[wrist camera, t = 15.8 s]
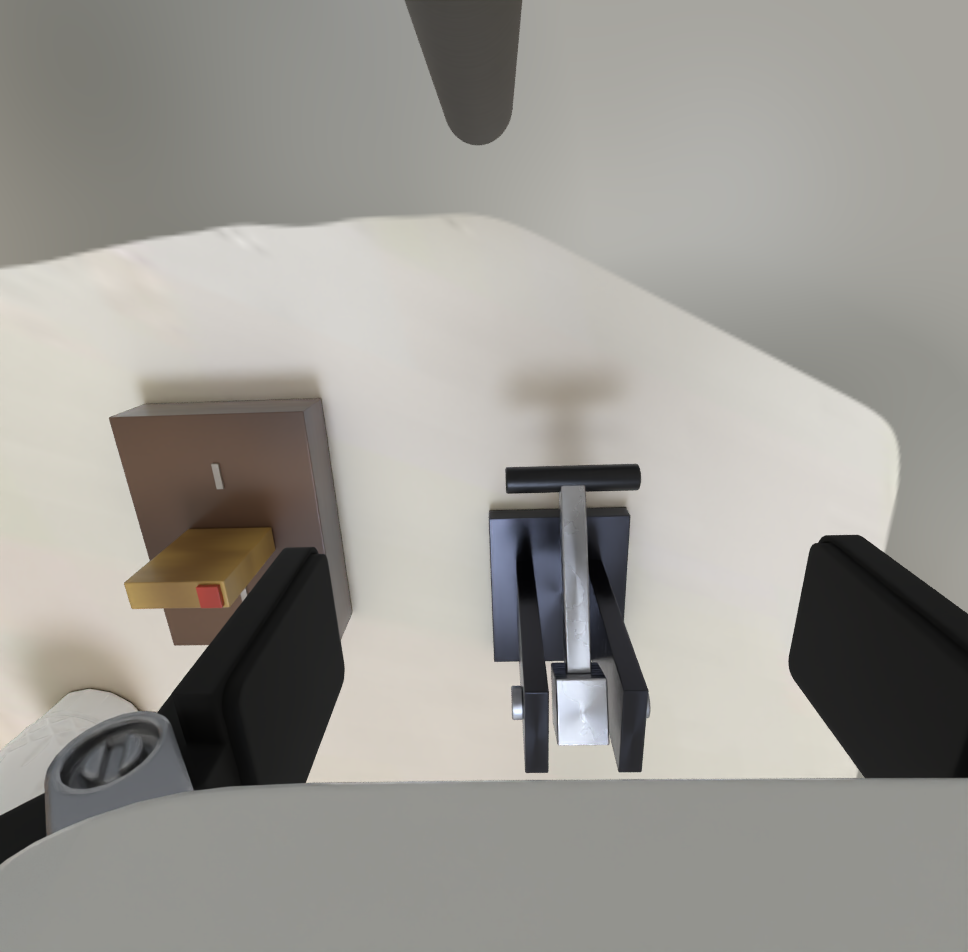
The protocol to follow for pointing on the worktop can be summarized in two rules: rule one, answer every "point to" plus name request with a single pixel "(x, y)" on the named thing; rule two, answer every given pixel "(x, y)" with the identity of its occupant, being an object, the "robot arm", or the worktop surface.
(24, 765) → the white cup
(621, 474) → the door lever
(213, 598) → the tall mustard panel
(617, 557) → the handle bracket
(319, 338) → the worktop surface
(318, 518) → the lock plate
